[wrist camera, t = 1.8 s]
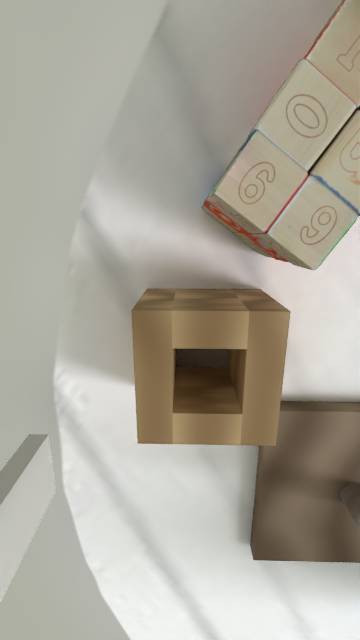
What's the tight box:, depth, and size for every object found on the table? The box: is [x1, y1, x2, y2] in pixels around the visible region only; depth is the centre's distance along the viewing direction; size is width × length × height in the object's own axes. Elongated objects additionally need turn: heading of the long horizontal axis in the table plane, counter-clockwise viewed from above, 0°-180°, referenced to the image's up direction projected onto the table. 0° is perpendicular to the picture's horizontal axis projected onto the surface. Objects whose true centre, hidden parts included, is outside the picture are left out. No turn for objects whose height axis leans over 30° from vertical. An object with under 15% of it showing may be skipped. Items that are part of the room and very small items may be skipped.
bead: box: [132, 289, 290, 446], centre depth 21 cm, size 9×9×7 cm
